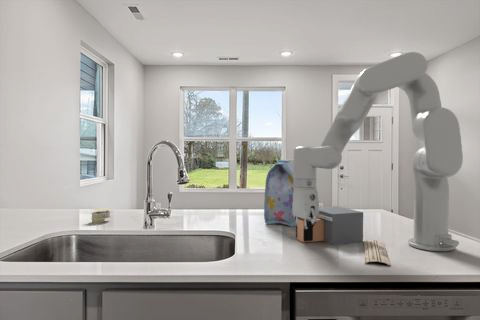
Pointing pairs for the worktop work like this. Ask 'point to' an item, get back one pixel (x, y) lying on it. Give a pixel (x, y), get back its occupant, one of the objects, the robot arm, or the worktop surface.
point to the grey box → (341, 225)
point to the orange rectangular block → (317, 231)
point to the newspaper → (375, 252)
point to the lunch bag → (279, 194)
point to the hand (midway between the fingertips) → (304, 238)
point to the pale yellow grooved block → (100, 215)
